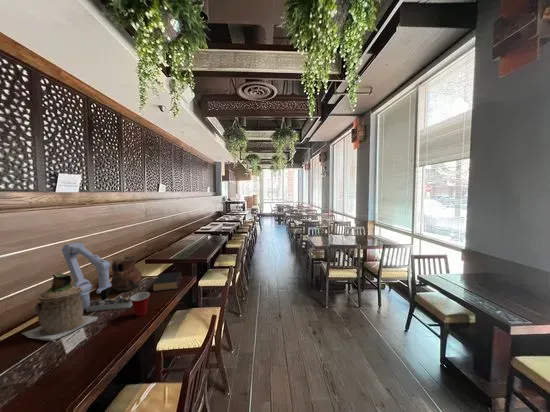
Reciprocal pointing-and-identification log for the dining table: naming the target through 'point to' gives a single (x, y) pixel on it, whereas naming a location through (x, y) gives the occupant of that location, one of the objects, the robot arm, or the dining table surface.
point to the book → (167, 281)
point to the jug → (125, 273)
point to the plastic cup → (140, 303)
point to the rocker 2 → (109, 300)
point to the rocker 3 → (123, 298)
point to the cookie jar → (59, 310)
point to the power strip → (109, 305)
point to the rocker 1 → (95, 301)
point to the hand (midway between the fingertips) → (104, 300)
